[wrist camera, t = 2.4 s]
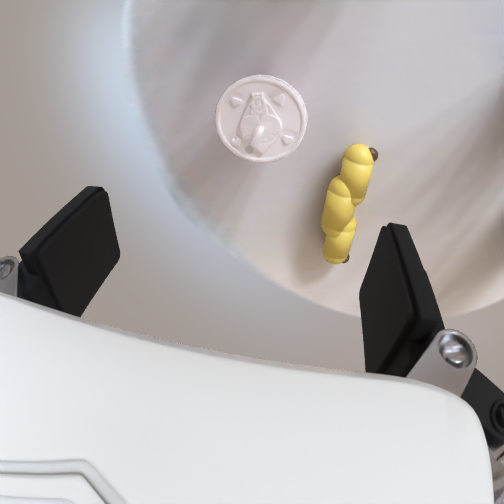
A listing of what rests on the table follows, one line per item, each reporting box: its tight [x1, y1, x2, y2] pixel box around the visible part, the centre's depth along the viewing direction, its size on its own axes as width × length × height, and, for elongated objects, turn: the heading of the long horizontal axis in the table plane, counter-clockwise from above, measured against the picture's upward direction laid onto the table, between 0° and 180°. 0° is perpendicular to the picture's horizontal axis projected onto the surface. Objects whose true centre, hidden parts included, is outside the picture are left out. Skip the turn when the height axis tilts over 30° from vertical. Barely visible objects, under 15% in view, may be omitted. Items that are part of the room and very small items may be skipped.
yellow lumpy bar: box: [321, 144, 378, 264], centre depth 32 cm, size 14×4×3 cm, turn 176°
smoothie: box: [215, 75, 307, 163], centre depth 22 cm, size 6×6×14 cm
